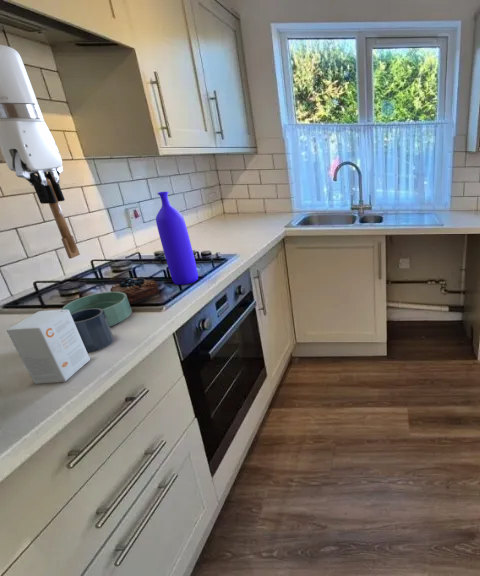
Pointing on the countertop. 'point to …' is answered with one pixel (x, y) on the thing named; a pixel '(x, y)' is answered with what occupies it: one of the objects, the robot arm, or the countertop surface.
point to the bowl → (104, 305)
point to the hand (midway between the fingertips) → (53, 201)
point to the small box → (49, 346)
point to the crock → (93, 328)
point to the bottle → (176, 243)
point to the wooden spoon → (63, 227)
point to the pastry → (136, 289)
